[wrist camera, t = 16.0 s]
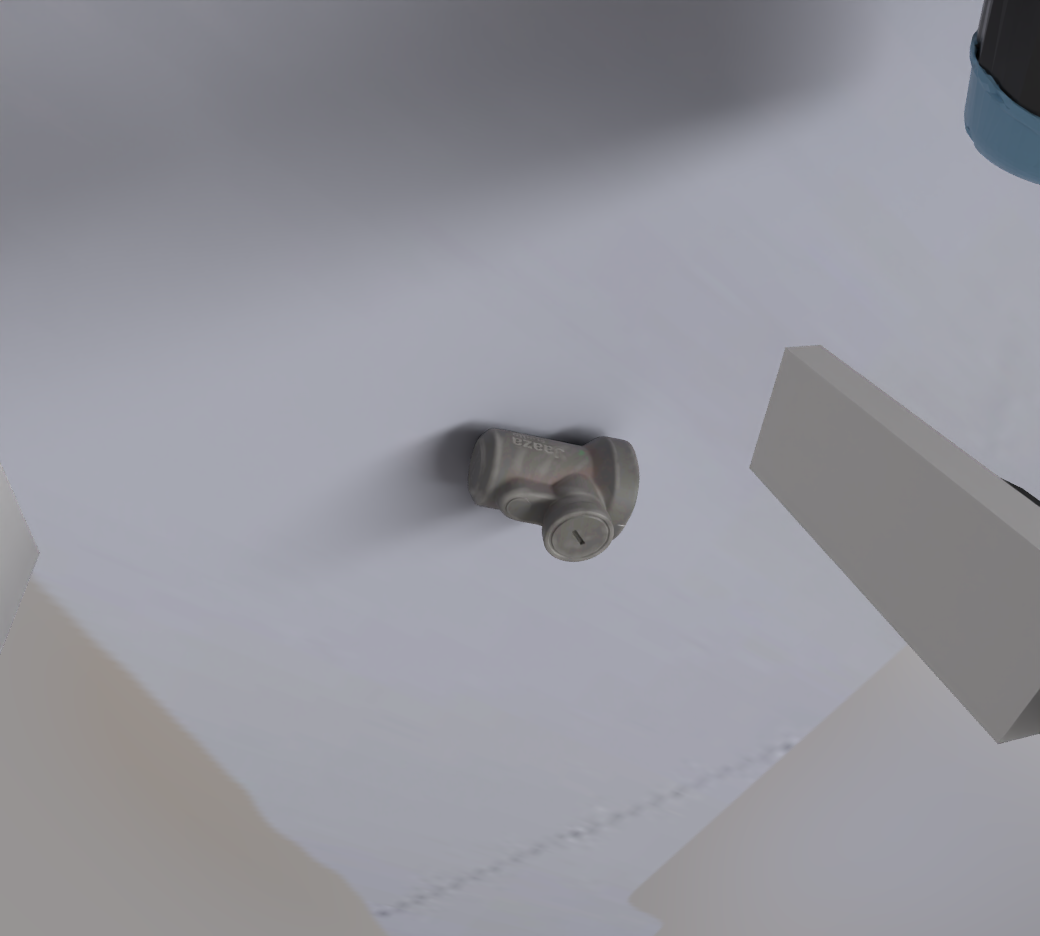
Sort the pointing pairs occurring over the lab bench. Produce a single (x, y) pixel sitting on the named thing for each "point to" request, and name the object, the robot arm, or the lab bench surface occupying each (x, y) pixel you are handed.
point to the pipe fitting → (558, 487)
